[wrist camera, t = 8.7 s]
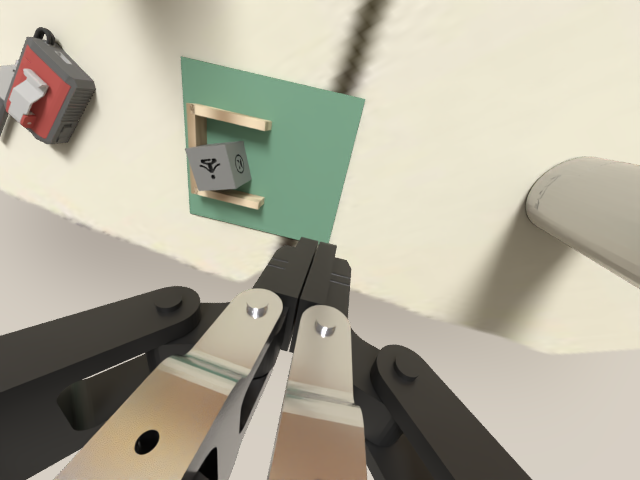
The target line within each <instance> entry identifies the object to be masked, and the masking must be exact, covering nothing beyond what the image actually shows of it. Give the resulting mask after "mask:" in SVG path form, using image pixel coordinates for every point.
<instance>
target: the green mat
mask: <svg viewBox="0 0 640 480" xmlns="http://www.w3.org/2000/svg"><path fill="white" fill-rule="evenodd" d="M181 69H182V86H183V103H184V120H185V137H186V148H189V145H188V127H187V108H186V103H194V104H201V105H206V106H210V107H214V108H218V109H223V110H227V111H231V112H235V113H239V114H244V115H248V116H252V117H256V118H261V119H265V120H269V121H272V128H271V130H268V131H262V130H258V129H254V128H250V127H246V126H241V125H237V124H233V123H229V122H225V121H220V120H216V119H212V118H208V117H207V144H214V143H225V142H235V141H244V146H245V150H246V155H247V160H248V164H249V169H250V173H251V178H252V179H251V180H250V181H248V182H246V183H245V184H243V185H241V186H240V187H238V188H236V189H233V190H237V191H241V192H245V193H249V194H253V195H258V196H262V197H265V199H264V204H263V205H262V206H261V207H260V208H259V209H258V210H257V209H253V208H249V207H245V206H241V205H237V204H233V203H229V202H225V201H221V200H217V199H213V198H209V197H205V196H200V195H196V194H192V193H191V182H190V164H189V160H188V157H187V171H188V188H189V205H190V213H192V214H196V215H200V216H204V217H208V218H212V219H216V220H220V221H224V222H228V223H232V224H236V225H240V226H244V227H248V228H252V229H256V230H260V231H264V232H268V233H272V234H276V235H280V236H284V237H288V238H292V239H296V240H300V238H301V237H305V238H309V239H313V240H317V241H318V245H319V242H320V241H321V242H325V243H329V239H330V235H331V231H332V227H333V223H334V220H335V216H336V212H337V208H338V204H339V200H340V196H341V192H342V188H343V184H344V180H345V177H346V173H347V169H348V165H349V161H350V157H351V153H352V149H353V145H354V141H355V137H356V133H357V130H358V126H359V122H360V118H361V114H362V110H363V106H364V102H365V99H362V98H357V97H353V96H349V95H345V94H340V93H336V92H332V91H327V90H323V89H319V88H314V87H310V86H306V85H302V84H297V83H293V82H289V81H284V80H280V79H276V78H271V77H267V76H263V75H259V74H254V73H250V72H246V71H241V70H237V69H233V68H228V67H224V66H220V65H216V64H211V63H207V62H203V61H198V60H194V59H190V58H186V57H181Z"/></svg>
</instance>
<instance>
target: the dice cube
mask: <svg viewBox="0 0 640 480" xmlns="http://www.w3.org/2000/svg"><path fill="white" fill-rule="evenodd" d="M185 150H186V154H187V157H188V160H189V163H190V166H191V169H192V172H193V175H194V178H195V181H196V184H197V187H198V191H208V190H225V189H236V188H238V187H240V186H241V185H243V184H245V183H246V182H248V181H250V180H251V179H252V178H251V173H250V169H249V164H248V160H247V155H246V150H245V146H244V141H235V142H225V143H214V144H206V145H201V146H196V147H191V148H185Z"/></svg>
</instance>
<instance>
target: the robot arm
mask: <svg viewBox="0 0 640 480" xmlns="http://www.w3.org/2000/svg"><path fill="white" fill-rule="evenodd" d="M526 212H527V216H528V217H529V219H530V221H531V222H532V223H534V224H535V225H536V226H537V227H539V228H541V229H542V230H544V231H546V232H547V233H549V234H551V235H552V236H554V237H555V238H557V239H558V240H560V241H562V242H563V243H565V244H567V245H568V246H570V247H572V248H573V249H575V250H576V251H578V252H580V253H581V254H583V255H585V256H586V257H588V258H590V259H591V260H593V261H594V262H596V263H598V264H599V265H601V266H603V267H604V268H606V269H608V270H609V271H611V272H612V273H614V274H616V275H617V276H619V277H621V278H622V279H624V280H626V281H627V282H629V283H630V284H632V285H634V286H635V287H637V288H639V289H640V165H636V164H631V163H625V162H620V161H614V160H608V159H602V158H597V157H580V158H574V159H571V160H568V161H565V162H563V163H561V164H559V165H557V166H555V167H553V168H552V169H550V170H549V171H547V172H546V173H545V174H544V175H543V176H541V177H540V178H539V179H538V180H537V182H536V183H535V184H534V186H533V187H532V189H531V191H530V192H529V194H528V197H527V201H526ZM317 247H318V248H317ZM336 248H337V245H333V244H329V243H325V242H321V241H320V242H319V245H318V241H317V240H313V239H309V238H305V237H301V238H300V240H299V242H298V244H297V246H296V247H292V246H288V245H285V246H283V247H281V248H280V249H278V250H277V251H276V252H275V254H274V255H273V257H272V259H271V260H270V262H269V263H268V265H267V266H266V268H265V269H264V271H263V272H262V274H261V276H260V277H259V279H258V281H257V282H256V283H255V285H254V286H253V288H252V289H249V290H246V291H243V292H241V293H240V294H238V295H237V296H236V297H235V298H234V299H233V300H232V302H228V303H200V298H199V295H198V294H197V293H196V292H195V291H194V290H192V289H190V288H187V287H182V286H173V287H166V288H162V289H158V290H155V291H151V292H148V293H145V294H141V295H138V296H134V297H131V298H128V299H124V300H121V301H118V302H115V303H111V304H107V305H104V306H100V307H97V308H94V309H90V310H87V311H83V312H80V313H77V314H73V315H70V316H66V317H63V318H59V319H56V320H53V321H49V322H46V323H42V324H39V325H36V326H32V327H29V328H25V329H22V330H19V331H15V332H12V333H9V334H5V335H2V336H0V480H26V479H28V478H30V477H32V476H34V475H35V474H37V473H39V472H41V471H42V470H44V469H46V468H48V467H49V466H51V465H53V464H55V463H57V462H58V461H60V460H62V459H64V458H65V457H67V456H69V455H71V454H72V453H74V452H76V451H78V450H80V449H81V448H82V449H81V450H80V451H79V452H78V453H77V455H76V456H75V457H74V458H73V459H72V460H71V461H70V462H69V463H68V464H67V465H66V467H64V469H63V470H62V471H61V472H60V473H59V474H58V475H57V476H56V477H55V478H54V480H228V479H229V477H230V474H231V472H232V469H233V466H234V464H235V461H236V458H237V454H238V451H239V448H240V445H241V442H242V439H243V437H244V434H245V432H246V430H247V428H248V425H249V423H250V421H251V419H252V416H253V414H254V412H255V409H256V407H257V405H258V403H259V400H260V397H261V396H262V394H263V391H264V389H265V387H266V384H267V382H268V380H269V378H270V376H271V373H272V370H273V366H274V365H275V363H276V360H277V357H278V354H279V351H280V349H281V350H284V351H287V350H288V347H289V344H290V341H291V338H292V341H291V346H290V350H289V352H292V353H293V357H292V362H291V366H290V371H289V375H288V380H287V385H286V390H285V395H284V400H283V404H282V409H281V415H280V419H279V424H278V429H277V434H276V438H275V443H274V448H273V453H272V457H271V462H270V467H269V472H268V476H267V480H367V468H366V465H367V466H368V468H369V470H370V472H371V474H372V476H373V478H374V480H532V479H531V478H530V477H529V476H528V475H527V474H526V472H525V471H524V470H523V469H522V468H521V467H520V466H519V465H518V464H517V463H516V461H515V460H514V459H513V458H512V457H511V456H510V455H509V454H508V453H507V452H506V451H505V449H504V448H503V447H502V446H501V445H500V444H499V443H498V442H497V440H496V439H495V438H494V437H493V436H492V435H491V434H490V433H489V432H488V431H487V429H486V428H485V427H484V426H483V425H482V424H481V423H480V422H479V421H478V420H477V418H476V417H475V416H474V415H473V414H472V413H471V412H470V411H469V410H468V409H467V408H466V406H465V405H464V404H463V403H462V402H461V401H460V400H459V399H458V398H457V396H455V394H454V393H453V392H452V391H451V390H450V389H449V388H448V386H447V385H446V384H445V383H444V382H443V381H442V380H441V379H440V378H439V377H438V375H437V374H436V373H435V372H434V371H433V370H432V369H431V368H430V367H429V365H428V364H427V363H426V362H425V361H424V360H423V359H422V358H421V357H420V356H419V355H418V354H416V353H415V352H414V351H412V350H410V349H408V348H406V347H404V346H400V345H387V346H385V347H383V348H382V349H381V350H379V349H377V348H376V347H374V346H372V345H370V344H368V343H367V342H365V341H364V340H362V339H361V338H360V337H359V336H357V334H355V332H354V331H353V330H352V328H351V326H350V323H349V321H348V306H349V292H350V280H351V279H350V278H351V267H350V266H349V264H348V262H347V260H343V259H339V258H335V253H336ZM292 335H293V336H292ZM142 353H145V354H144V355H142V356H139V357H137V358H135V359H132V360H130V361H128V362H125V363H123V364H121V365H119V366H116V367H114V368H112V369H109V370H107V371H105V372H102V373H100V374H98V375H95V376H93V377H91V378H88V379H84V378H87V377H89V376H91V375H94V374H96V373H98V372H101V371H103V370H105V369H108V368H110V367H112V366H115V365H117V364H119V363H122V362H124V361H126V360H129V359H131V358H133V357H136V356H138V355H140V354H142ZM82 379H84V380H82Z"/></svg>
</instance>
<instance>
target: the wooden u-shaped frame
mask: <svg viewBox="0 0 640 480" xmlns="http://www.w3.org/2000/svg"><path fill="white" fill-rule="evenodd" d="M186 108H187V127H188V145H189V148H191V147H196V146H201V145H206V144H207V117H208V118H212V119H216V120H220V121H225V122H229V123H233V124H237V125H241V126H246V127H250V128H254V129H258V130H262V131H268V130H271V128H272V121H269V120H265V119H261V118H256V117H252V116H248V115H244V114H239V113H235V112H231V111H227V110H223V109H218V108H214V107H210V106H206V105H201V104H194V103H186ZM189 164H190V163H189ZM190 182H191V193H192V194H196V195H200V196H205V197H209V198H213V199H217V200H221V201H225V202H229V203H233V204H237V205H241V206H245V207H249V208H253V209H257V210H258V209H259V208H260V207H261V206H262V205H263V204H264V199H265V197H262V196H258V195H253V194H249V193H245V192H241V191H237V190H233V189H225V190H208V191H198V187H197V184H196V181H195V178H194V175H193V172H192V169H191V166H190Z"/></svg>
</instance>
